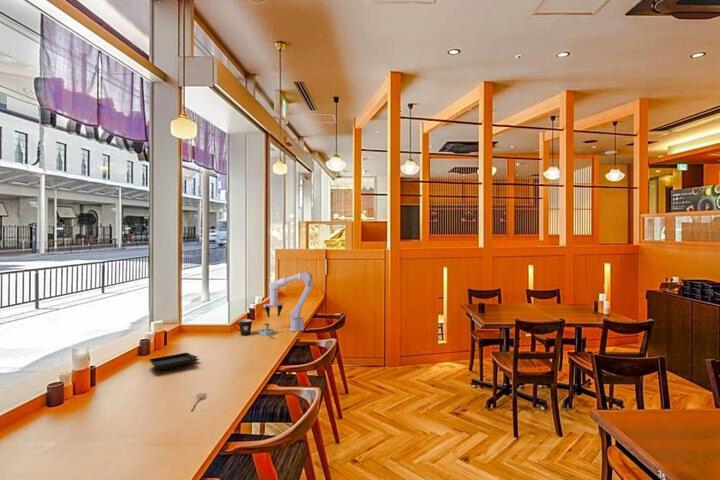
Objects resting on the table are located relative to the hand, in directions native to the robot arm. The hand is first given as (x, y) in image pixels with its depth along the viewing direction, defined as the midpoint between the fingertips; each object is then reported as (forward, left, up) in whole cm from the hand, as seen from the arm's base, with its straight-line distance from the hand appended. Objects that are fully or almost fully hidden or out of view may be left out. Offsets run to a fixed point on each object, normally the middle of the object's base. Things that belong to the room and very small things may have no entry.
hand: (273, 316), depth 308 cm
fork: (+69, +109, -10) cm, 129 cm away
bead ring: (+8, +9, -10) cm, 16 cm away
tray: (+72, +54, -10) cm, 90 cm away
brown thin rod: (+8, +20, -10) cm, 23 cm away
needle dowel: (+8, +9, -10) cm, 16 cm away
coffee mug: (+23, +4, -10) cm, 25 cm away
